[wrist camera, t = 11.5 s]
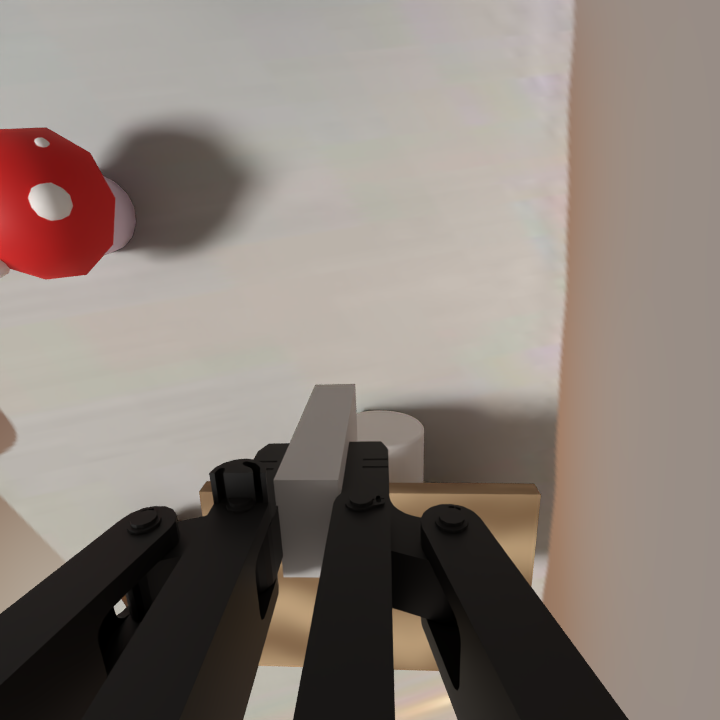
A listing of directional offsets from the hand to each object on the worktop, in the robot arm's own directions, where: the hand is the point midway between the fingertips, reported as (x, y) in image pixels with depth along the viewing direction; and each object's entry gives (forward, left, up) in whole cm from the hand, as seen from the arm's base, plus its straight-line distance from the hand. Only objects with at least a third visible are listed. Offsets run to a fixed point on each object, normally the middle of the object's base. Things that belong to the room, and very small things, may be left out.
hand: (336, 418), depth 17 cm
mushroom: (-9, -23, -25) cm, 35 cm away
